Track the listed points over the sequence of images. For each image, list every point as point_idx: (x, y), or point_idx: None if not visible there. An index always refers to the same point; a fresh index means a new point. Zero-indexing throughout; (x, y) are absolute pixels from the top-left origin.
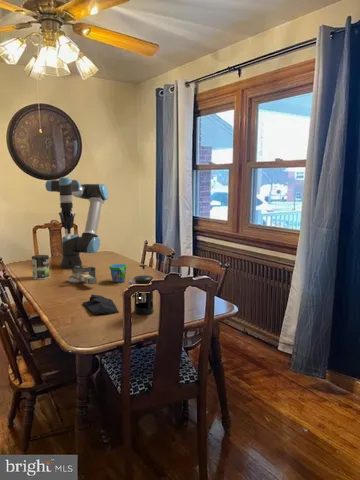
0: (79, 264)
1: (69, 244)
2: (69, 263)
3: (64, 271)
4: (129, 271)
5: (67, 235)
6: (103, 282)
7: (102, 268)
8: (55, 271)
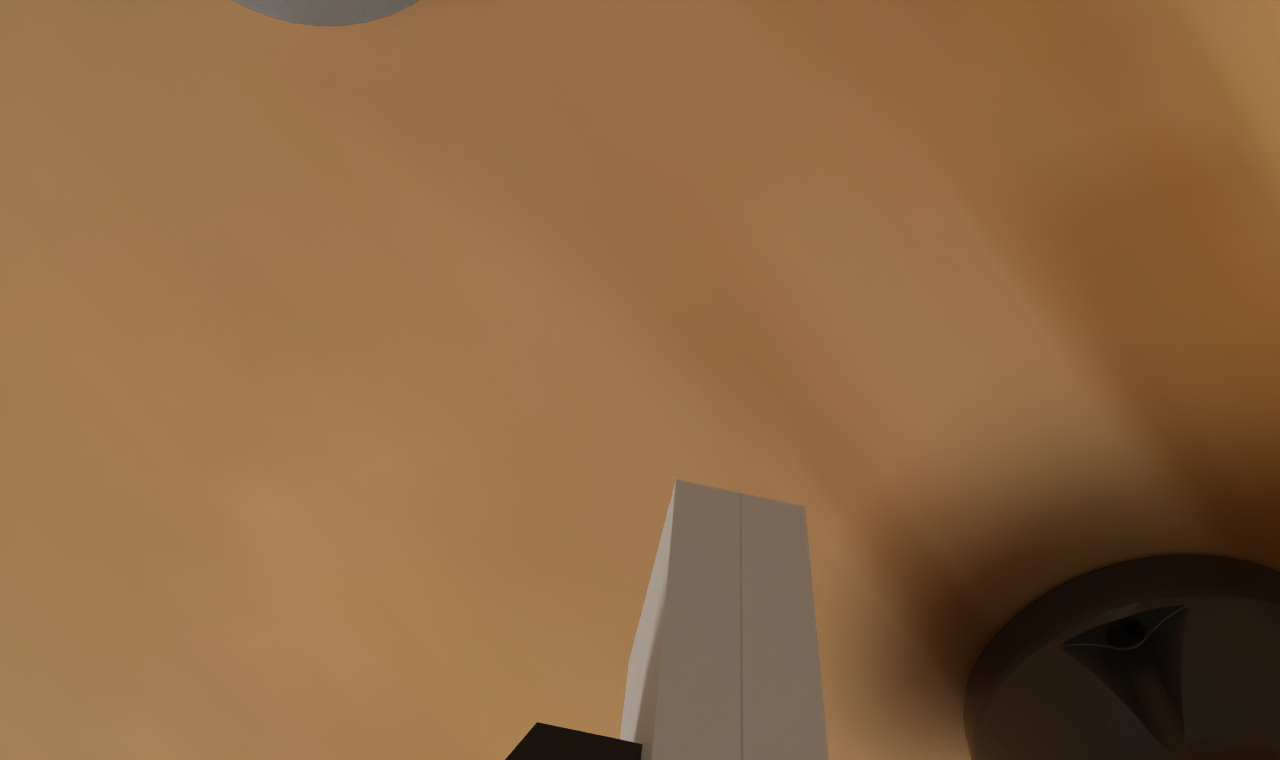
0: (976, 725)
1: None
2: (1144, 659)
3: (1081, 377)
4: (53, 700)
5: (656, 629)
6: None
7: None
8: (1268, 318)
